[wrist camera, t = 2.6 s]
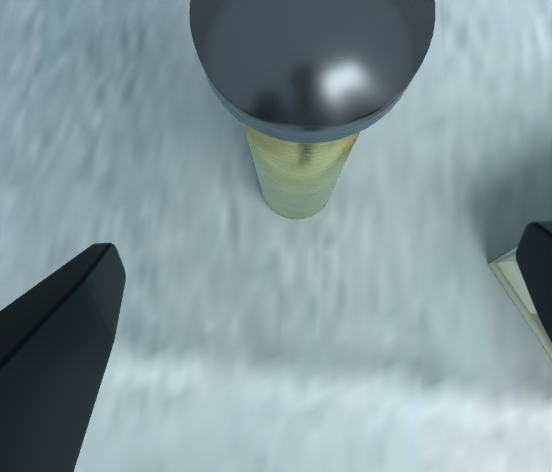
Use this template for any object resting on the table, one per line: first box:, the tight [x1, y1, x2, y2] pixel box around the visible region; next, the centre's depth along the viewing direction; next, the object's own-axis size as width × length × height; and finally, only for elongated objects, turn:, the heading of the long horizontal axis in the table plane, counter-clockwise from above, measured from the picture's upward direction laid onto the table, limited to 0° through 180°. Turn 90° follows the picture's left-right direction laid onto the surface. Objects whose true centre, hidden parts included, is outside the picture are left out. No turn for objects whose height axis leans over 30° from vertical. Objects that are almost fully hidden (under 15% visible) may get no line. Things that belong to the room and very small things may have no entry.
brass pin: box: [190, 0, 435, 219], centre depth 14 cm, size 5×5×13 cm
